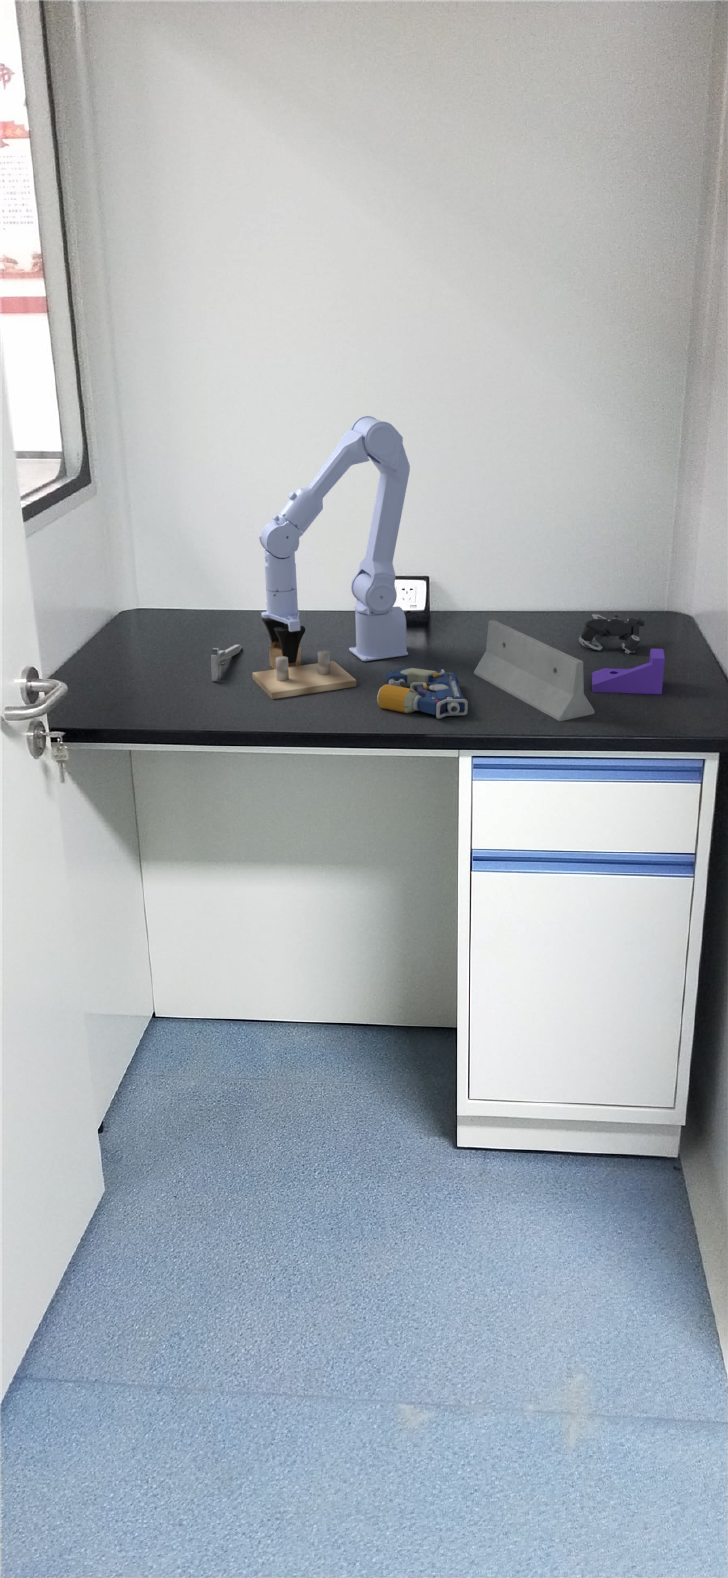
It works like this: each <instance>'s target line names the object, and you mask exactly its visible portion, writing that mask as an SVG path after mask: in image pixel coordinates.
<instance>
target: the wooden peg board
mask: <svg viewBox="0 0 728 1578" xmlns="http://www.w3.org/2000/svg"><path fill="white" fill-rule="evenodd" d="M330 654H331V653H330V651H329V650H319V651H317V662H316V663H310V664H304V665H303V664H301V665H300V666H295V667H288V657H284V656H281V657H277V658H276V669H268V670H261V671H254V672H251V674H252V680H253V681H255V683H256V684H257V685H258V686H259V688H261V690H262V691H263V692H264V693H265V694H266V695H267V696H268V697H270V699H271V700H276V699H282V698H283V699H284V698H289V697H296V696H302V695H308V694H310V695H311V694H314V693H315V694H316V693H322V692H329V691H334V690H340V689H347V688H348V689H349V688H354V687H357V679H356V678H355V677H353V676H352V675H351V674H350V673H349V672H347V671H346V670H345V669H344V667H342V666H340V665H339V664H338V663H337V662H335V661H334V660H331V655H330Z"/></svg>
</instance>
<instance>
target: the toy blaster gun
mask: <svg viewBox="0 0 728 1578" xmlns="http://www.w3.org/2000/svg"><path fill="white" fill-rule="evenodd" d="M385 682H386V683H385V684H384V685H382V686H381V687H380V688H379V690H378V693H377V695H376V701H377V705H378V706H379V708H381V709H383V710H390V711H394V712H398V713H404V714H411V713H414V712H415V711H416V712H417V711H418V712H419V711H420V712H422V713H426V714H430V715H434V716H436V719H439V720H440V719H442V718H445V717H447V716H448V717H449V716H451V717H452V716H454V717H455V716H467V714H468V709H469V708H468V707H469V706H468V705H469V704H468V703H469V702H468V700H467V699H465V698H464V695H463V693H462V691H461V689H460V686H459V684H460V683H459V679H458V676H457V674H455V673H454V672H445V669H444V668H443V669H438V671H437V670H430V669H429V670H428V669H422V668H415V667H405V668H404V667H403V668H399V669H396V670H391V671H389V672H387V674H386V675H385Z"/></svg>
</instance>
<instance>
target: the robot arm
mask: <svg viewBox="0 0 728 1578" xmlns="http://www.w3.org/2000/svg"><path fill="white" fill-rule="evenodd" d="M403 439H404V437H403V436H402V434H400V432H399V431H398V430H397V428H396V427H394V425H392V424H391V423H390V422H388V421H384V420H383V421H382V420H380V419H377V418H375V417H374V416H371V415H365V416H363V415H362V416H361V417H359V418H357V419H355V421H354V422H353V424H352V426H351V429H350V428H348V430H346V431H345V432H344V434H343V435H342V436H341V439H340V440H339V442H338V444H337V445H336V447H335V448H334V449H333V451H332V453H331V454H330V455H329V457H328V458H327V459H326V461H325V462H324V464H323V465H322V466H321V468H320V469H319V471H318V472H317V474H316V475H315V476H314V478H313V480H312V481H311V482H310V484H309V485H308V486H305V487H299V488H297V489H296V491H295V492H294V491H290V493H289V494H288V496H287V497H288V498H289V499H288V501H287V503H286V504H285V505H284V506H283V507H282V509H281V510H280V511H279V513H278V514H276V513H274V515H273V517H272V520H273V521H271V522H269V523H267V524H265V526H263V528H262V530H261V533H260V536H259V537H258V540H259V543H260V544H261V547H262V548H263V549H264V574H265V577H264V578H265V592H266V594H265V595H266V602H265V603H266V611H262V612H260V613H261V620H262V622H263V623H264V626H265V628H266V630H267V633H268V635H269V639H270V644H271V643H273V642H275V641H279V642H280V645H281V650H282V656H284V657H288V664H289V663H295V662H296V659H297V654H298V649H299V644H300V645H301V642H302V641H301V640H302V638H303V636H304V634H305V633H306V627H305V626H304V625H301V620H300V619H299V618H300V609H299V605H298V584H297V564H296V556H295V555H296V552H297V551H298V549H299V547H300V538H301V537H302V536H303V535H304V533H306V531H307V530H308V529H309V527H311V525H312V524H313V522H314V521H315V520H316V518H317V517H318V516H319V515H320V513H321V512H322V511H323V509H324V505H323V504H324V503H323V502H324V501H323V499H324V498H325V497H326V496H327V495H328V493H329V492H330V491H331V489H333V487H334V486H335V485H336V484H337V483H338V482H339V481H340V479H341V478H342V477H343V475H345V474H346V472H347V471H348V470H349V469H350V468H351V467H352V466H353V465H359V464H362V463H366V462H370V461H371V462H372V463H373V464H374V466H375V467H376V469H377V470H378V471H379V478H378V485H377V491H376V496H375V503H374V507H373V512H372V519H371V523H370V530H369V534H368V541H367V546H366V550H365V556H364V558H363V559H362V560H361V561H360V562H359V566H358V570H357V572H356V574H355V576H354V577H353V579H352V580H351V585H350V589H351V590H350V591H351V592H352V593H351V594H352V595H353V597H354V598H355V599H356V605H355V607H354V610H355V612H354V613H355V614H354V615H355V644H356V645H355V646H352V647H349V648H348V650H349V652H350V653H352V654H353V655H355V656H356V657H357V658H358V659H360V660H361V661H362V662H368V661H375V660H377V661H378V660H383V659H389V658H396V657H398V658H399V657H404V656H408V655H409V651H407V619H406V614H405V612H404V610H403V608H402V607H401V606H395V604H396V602H397V595H398V594H397V590H396V589H397V588H396V585H395V583H396V578H397V577H396V572H395V567H394V562H393V561H394V555H395V552H396V551H395V550H396V545H397V539H398V535H399V530H400V524H401V519H402V515H403V509H404V504H405V497H406V493H407V488H408V482H409V477H410V476H409V475H410V471H411V465H410V462H409V460H408V459H409V458H408V456H407V453H406V450H405V448H404V447H405V446H404V444H403V443H404V442H403V441H404V440H403Z"/></svg>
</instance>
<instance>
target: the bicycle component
mask: <svg viewBox="0 0 728 1578" xmlns="http://www.w3.org/2000/svg"><path fill="white" fill-rule="evenodd" d="M591 617H592V619H589V620H587V621H586V622H585V625H584V627H583V631H582V633H581V634H580V635H579V638H578V642H579V643H580V644H581V645H582V646H583V647H585V648H588V649H591V650H592V651H594V650H595V651H597V652H599V651H601V650H603V648H604V646H603V645H602V643H600V642H599V641H598V640H597V639H596V635H597V636H598V635H599V636H601V635H603V634H606V635H610V636H617V637H618V640H621V641H625V642H621V644H620V647H621V649H622V650H623V649H624V650H625V651H624V653H625V654H627V655H629V654H631V653H635V652H636V651H637V648H638V646H639V644H640V642H641V637H640V629H641V628H640V627H645V625H646V622H645V620H643V619H641V617H638V618H637V619H636V618H632V617H628V618H627V619H626V623H625V621H624V619H621V618H619V615H617V614H615V615H613V618H611V619H608V618H606V617H603V615H600V614H597V613H596V614H595V613H594V614H591Z"/></svg>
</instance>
